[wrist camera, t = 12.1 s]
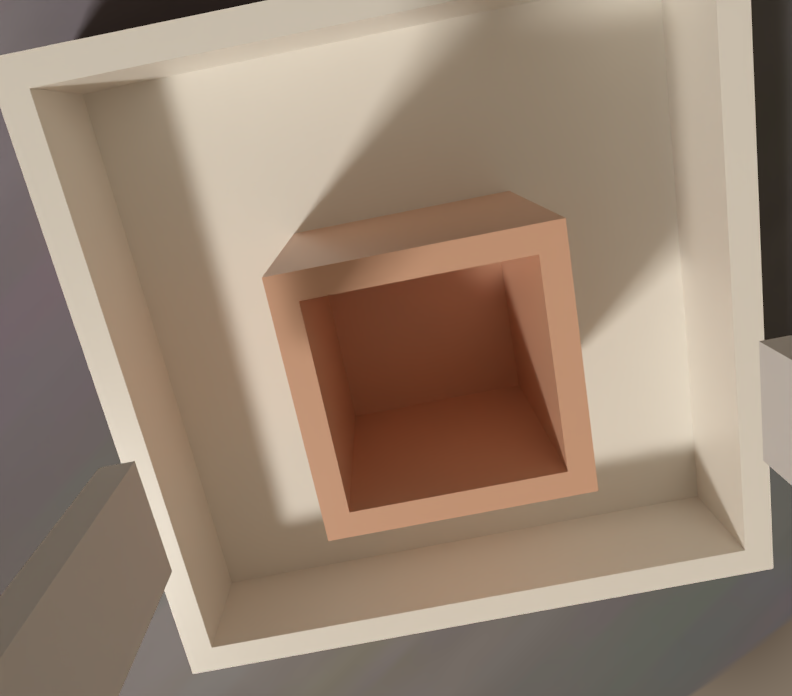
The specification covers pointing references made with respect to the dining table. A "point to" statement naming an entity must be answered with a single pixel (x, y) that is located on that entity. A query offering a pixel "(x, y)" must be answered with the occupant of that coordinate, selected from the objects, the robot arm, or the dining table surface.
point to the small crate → (435, 362)
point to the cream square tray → (388, 194)
